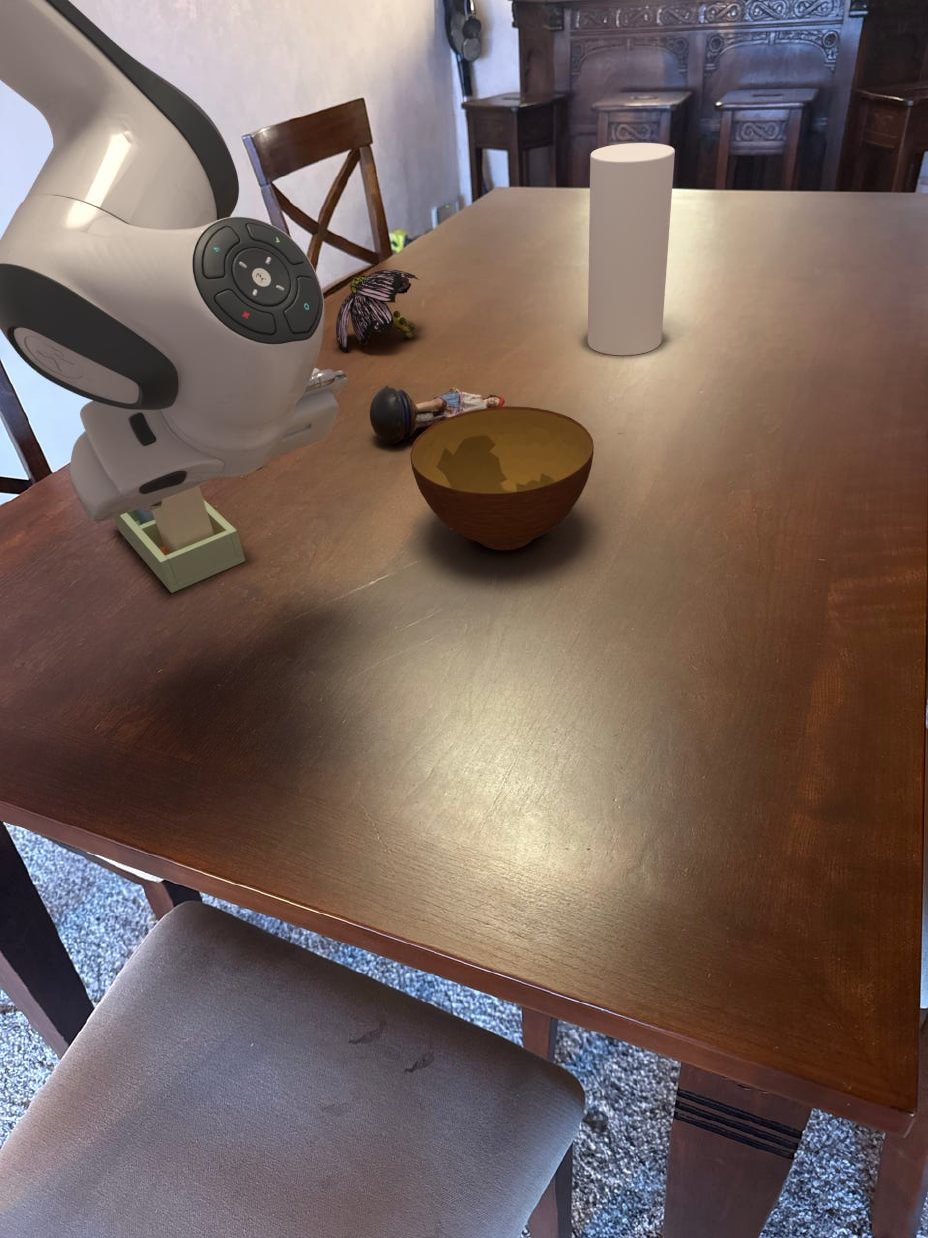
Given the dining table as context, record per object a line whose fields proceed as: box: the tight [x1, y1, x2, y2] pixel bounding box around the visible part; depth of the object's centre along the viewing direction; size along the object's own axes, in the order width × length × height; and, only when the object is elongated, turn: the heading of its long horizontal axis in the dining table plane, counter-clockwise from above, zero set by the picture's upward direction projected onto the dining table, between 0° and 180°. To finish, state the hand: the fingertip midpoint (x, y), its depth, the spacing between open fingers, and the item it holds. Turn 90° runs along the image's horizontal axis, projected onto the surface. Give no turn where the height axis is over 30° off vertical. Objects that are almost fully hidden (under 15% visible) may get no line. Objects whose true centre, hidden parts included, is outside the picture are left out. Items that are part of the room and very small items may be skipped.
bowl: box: [410, 405, 595, 551], centre depth 86 cm, size 18×18×10 cm
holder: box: [113, 498, 246, 594], centre depth 91 cm, size 8×15×4 cm, turn 37°
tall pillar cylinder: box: [587, 142, 676, 356], centre depth 119 cm, size 11×11×25 cm
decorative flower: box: [335, 269, 420, 353], centre depth 131 cm, size 15×12×15 cm
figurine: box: [369, 385, 506, 446], centre depth 107 cm, size 8×7×18 cm
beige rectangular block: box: [152, 485, 214, 554], centre depth 86 cm, size 4×5×9 cm
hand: (201, 481), depth 72 cm, fingers open, 8 cm apart
